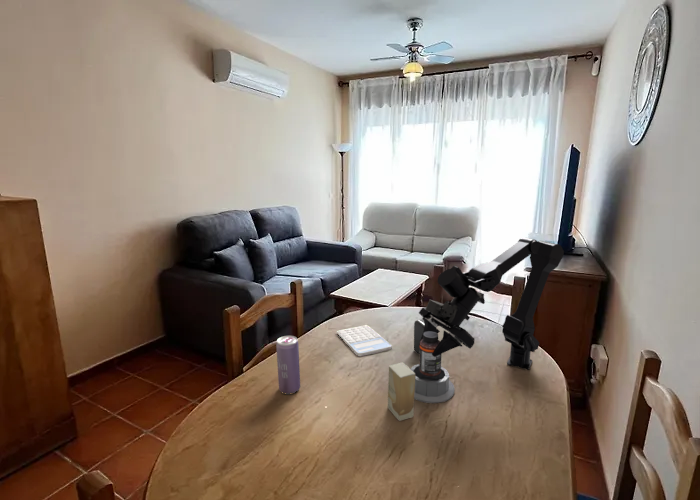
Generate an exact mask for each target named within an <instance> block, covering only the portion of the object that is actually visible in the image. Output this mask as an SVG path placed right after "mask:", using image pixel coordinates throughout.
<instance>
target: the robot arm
mask: <svg viewBox="0 0 700 500" xmlns="http://www.w3.org/2000/svg"><path fill="white" fill-rule="evenodd" d="M564 254H565V251H564V249H563V247H562V245H561V244H558V243H555V242H554V243H553V242H549V241H544V240H539V241H538V240H537V239H534V238H528V237H521V238H519V240H518V241H517V242H516V243H515V244H513V245H512V246H511V247H509V248H508V249H506V250H505V251H504V252H502V253H501V254H500V255H498V256H496V257H495V258H494V259H492V260H490V261H489V262H485V263H480V264H477V265H476V266H474V267H472V268H471V269H469V270H468V271H466V272H462V270H461V268H460V267H458V266H457V265H453V266H452V267H451V268H448V269H445V270H444V271H442V272H441V273H440V274H439V276H438V278H437V284H438V285H439V286H440V287H441V288H442V289H443V290H444V291H445V292H446V293H447V294H448V295H449V296H450V297H451V298H452V299H451V300H450V301H449V300H447V301H445V302H444V303H441V302H439V301H437V300H433V299H429V300H428V302H427V305H426V306H424V307H422V308H421V309H420V310H419V311H418V314H419V315H420V316H421V317H422V320H424V325H425V326H424V331H423V334H424V333H425V332H427V331H432V332H436V333H437V334H438V335H439V333H441V332H440V329H438V327H440V328H442V329H443V334H442V335H443V336H442V338H441V340H439V341H440V343H439V344H438V345H437V347H436V348H435V350H434V352H433V353H432V355H433V356H434V357H436V356H438V355H440V354H441V355H442V354H444V353H446V352H448V351H451V350H452V349H453V350H454V349H455V348H458V347H460V348H461V347H463V345H464V346H465V347H466V348H468V349H469V350H471V348H473V346H474V345H475V341H476V340H475V337H474V336H473V335H471V334H470V333H469V332H468V330H466V329H465V328H463V327H461V325H462V324H463V322H464V321H465V320H466V321H469V319H470V316H469V315H470V313H471V311H472V310H473V308H475V306H476V305H477V304H478V303H480V304H483V305H484V304H485V302H486V301H485V294H484V293H482V292H480V291H483V292H487V293H489V292H492V291H493V290H495V288H496V287H497V286H498V285H499V284H500V283H501V280H502V278H503V276H504V275H505V274H506V273H508V272H509V271H510V270H511V269H513V268H514V267H516V266H517V265H518V264H520V263H521V262H523V261H524V260H525V259H526V258H528V257H529V261H530V265H531V269H530V272H529V275H528V277H527V281H526V283H525V285H524V288H523V291H522V294H521V296H520V299H519V301H518V305H517V308H516V310H515V312H514V313H512V314H511V315H509V314H507V315H506V316H505V319H504V322H503V324H502V325H501V326H502V329H501V330H502V335H503V337H504V341H505V342H507V343H509V344H510V352H509V357H508V359H507V361H506V365H507V366H511V367H515V368H518V369H523V370H527V371H529V370H530V369H531V366H532V363H533V360H532V359H531V355H532V354H531V353H534V352H535V351H536V350H538V349H539V346H540V344H541V343H540V341H539V340H538V339H537V337H536V336H534V333H535V330H536V328H535V322H534V316H535V314H536V310H537V307H538V305H539V303H540V299H541V297H542V295H543V294H542V293H543V291H544V289H545V286H546V283H547V281H548V278H549V275H550V273H552V272H553V271H554V270H555V269H557V268H558V266H559V265H560V263H561V262H562V259H563V257H564ZM477 290H480V291H477ZM423 334H422V337H421V340H422V339H423ZM421 340H420V341H421ZM419 346H420V343H419Z"/></svg>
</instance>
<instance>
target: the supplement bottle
mask: <svg viewBox="0 0 700 500" xmlns="http://www.w3.org/2000/svg"><path fill="white" fill-rule="evenodd" d="M440 341H441V340H440V339H439V333H438V334H437V333H436V332H432V331H427V332H425V333H424V334H423V339H422V340H421V341H420V355H419V362H418V364H419V370H420V372H421V373H422V374H424V375H426V376H437V375H439V374H440V372H441V366H442V354H440V355H438V356H436V357H434V356H433V355H432V353H433V352H434V350H435V348H436V347H437V345H438V344H439V343H440Z"/></svg>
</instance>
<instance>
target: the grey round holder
mask: <svg viewBox="0 0 700 500" xmlns="http://www.w3.org/2000/svg"><path fill="white" fill-rule="evenodd" d="M410 369H411V370H412V371H413V372H414V373H415V393H414V401H415V400H416V401H418V402H422V403H427V404H440V403H445V402H447V401H449V400H451V399H452V398H453V397H454V395H455V388H456V387H455V385H454V383H453V382H452V381H451V380H450V373H449V370H447V369H446V368H445V367H443V366H442V365H441V372H440V374H439V375H437V376H426V375H424V374H422V373H421V372H420V370H419V363H417V364H415V365H412V367H410Z"/></svg>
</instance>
